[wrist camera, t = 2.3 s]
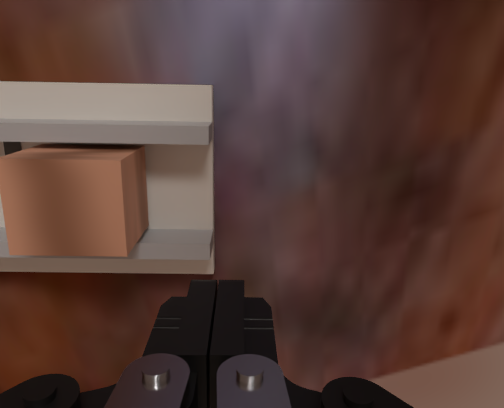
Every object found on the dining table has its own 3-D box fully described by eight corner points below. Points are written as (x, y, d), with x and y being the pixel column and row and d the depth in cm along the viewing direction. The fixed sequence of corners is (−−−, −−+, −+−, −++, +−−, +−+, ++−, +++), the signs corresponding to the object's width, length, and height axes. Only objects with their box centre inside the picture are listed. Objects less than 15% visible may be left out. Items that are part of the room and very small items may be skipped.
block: (144, 145, 26) (120, 160, 21) (148, 225, 27) (127, 256, 22) (43, 143, 25) (-6, 158, 21) (52, 223, 27) (9, 255, 22)
